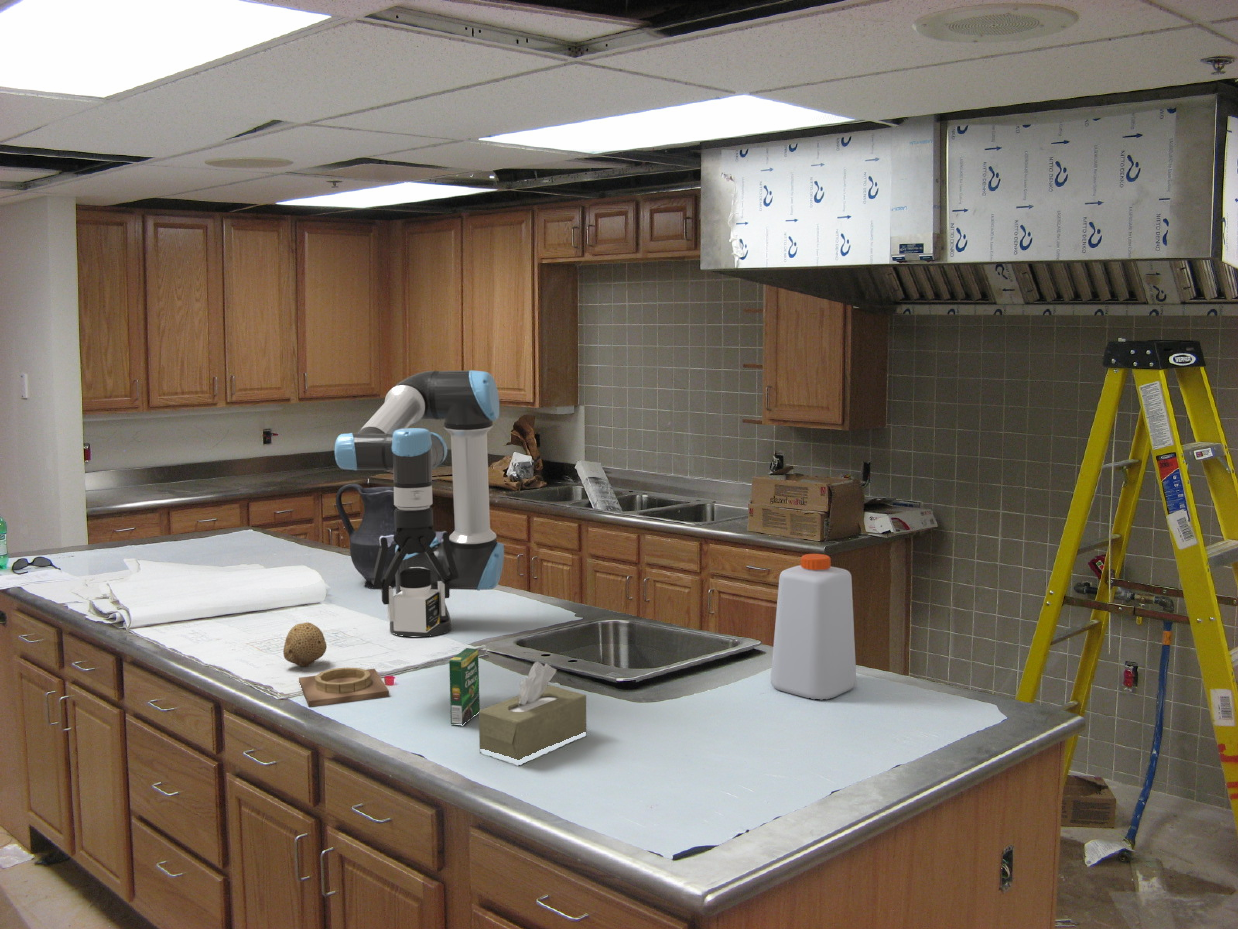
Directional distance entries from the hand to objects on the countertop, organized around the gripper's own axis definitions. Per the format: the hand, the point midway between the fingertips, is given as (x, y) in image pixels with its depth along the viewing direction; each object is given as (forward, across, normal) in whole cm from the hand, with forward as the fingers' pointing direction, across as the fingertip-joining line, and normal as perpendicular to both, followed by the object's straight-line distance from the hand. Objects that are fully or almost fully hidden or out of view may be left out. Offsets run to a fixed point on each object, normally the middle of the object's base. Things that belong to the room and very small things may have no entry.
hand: (416, 616), depth 222 cm
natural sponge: (+18, -18, +32) cm, 41 cm away
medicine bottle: (+2, 0, 0) cm, 2 cm away
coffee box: (+18, +6, -14) cm, 23 cm away
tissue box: (+18, +14, -31) cm, 39 cm away
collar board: (+17, -13, +13) cm, 25 cm away
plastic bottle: (+18, +78, -24) cm, 83 cm away
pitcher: (+18, +10, +104) cm, 106 cm away
